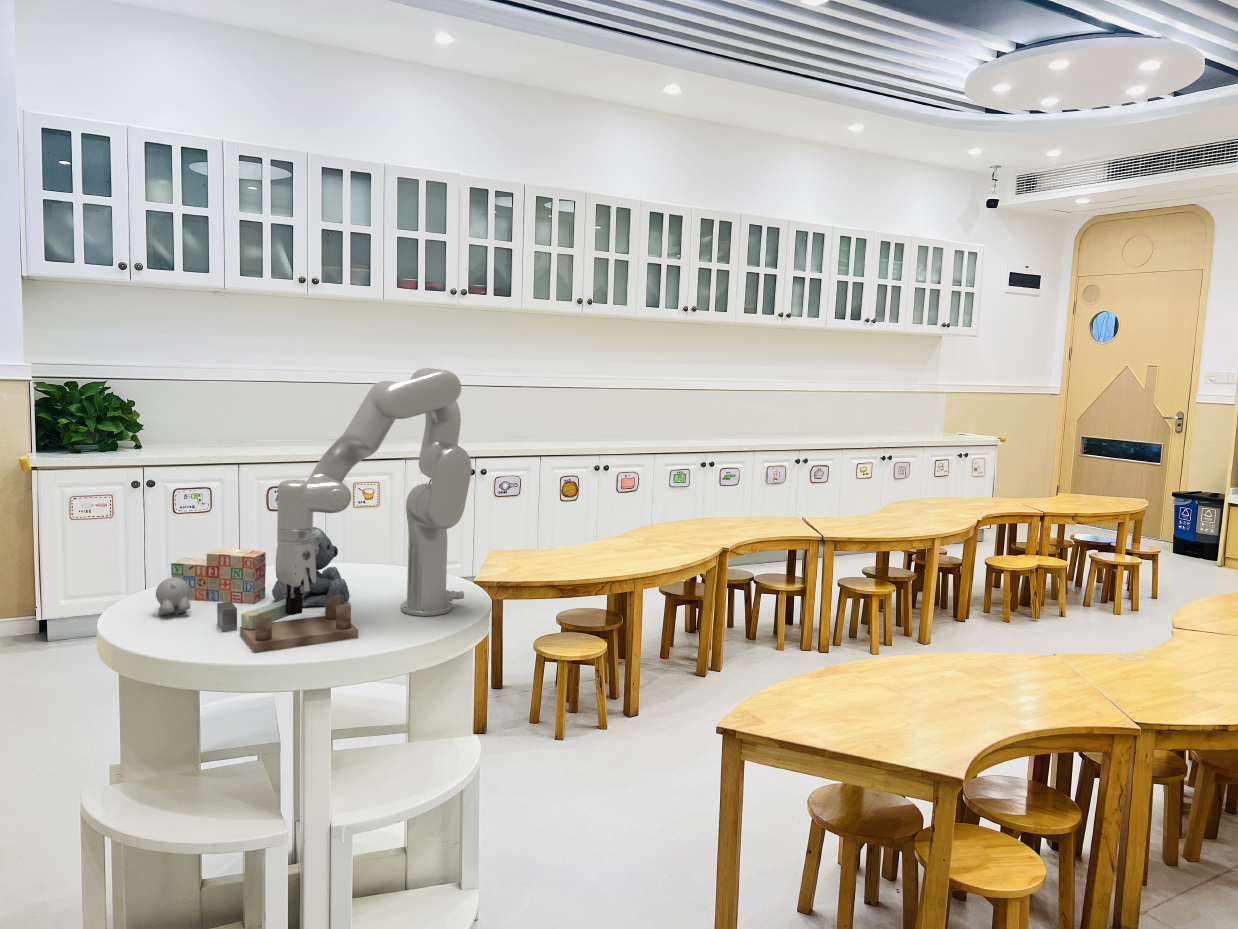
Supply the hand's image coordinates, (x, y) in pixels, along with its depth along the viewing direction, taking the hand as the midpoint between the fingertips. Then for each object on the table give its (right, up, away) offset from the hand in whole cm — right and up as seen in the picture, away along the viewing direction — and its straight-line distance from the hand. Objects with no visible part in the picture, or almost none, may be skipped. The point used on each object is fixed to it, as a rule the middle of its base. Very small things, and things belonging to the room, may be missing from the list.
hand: (294, 613), depth 200 cm
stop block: (-15, -3, -2) cm, 15 cm away
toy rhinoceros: (-32, -1, +7) cm, 32 cm away
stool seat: (+3, -4, -6) cm, 8 cm away
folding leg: (-4, -1, -2) cm, 5 cm away
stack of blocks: (-26, 0, +20) cm, 33 cm away
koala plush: (-4, -1, +22) cm, 23 cm away
